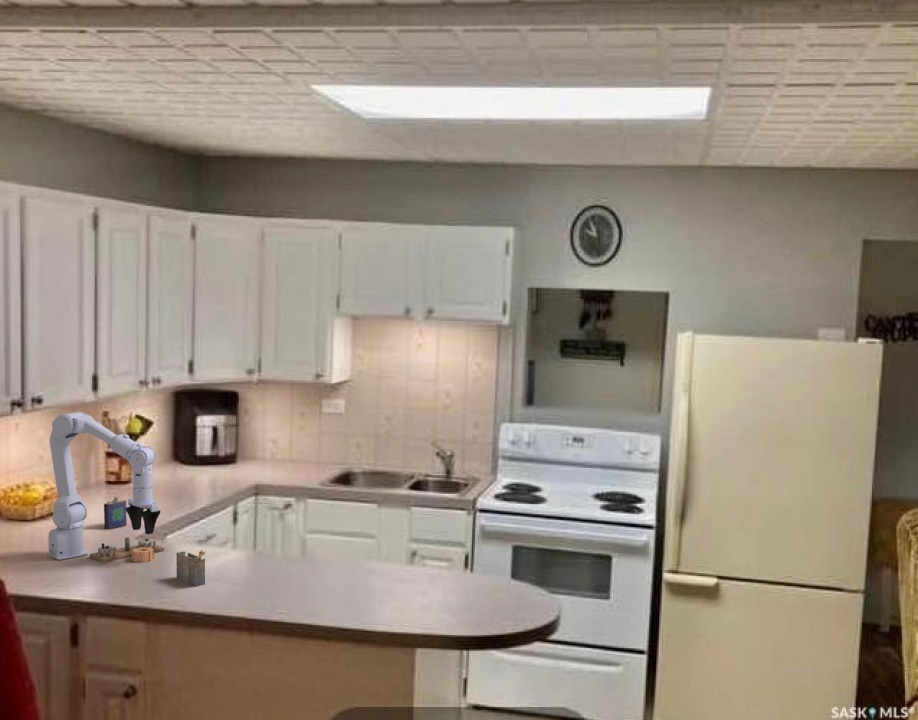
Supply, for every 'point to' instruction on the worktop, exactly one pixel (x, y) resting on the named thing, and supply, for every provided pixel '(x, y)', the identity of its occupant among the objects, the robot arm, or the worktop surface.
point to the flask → (115, 514)
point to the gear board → (123, 550)
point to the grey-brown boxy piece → (191, 568)
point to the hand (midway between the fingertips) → (143, 531)
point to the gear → (142, 554)
